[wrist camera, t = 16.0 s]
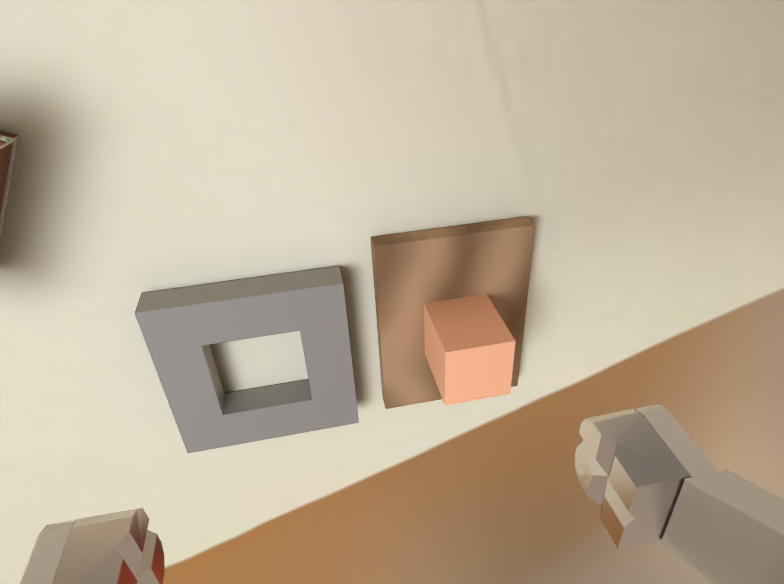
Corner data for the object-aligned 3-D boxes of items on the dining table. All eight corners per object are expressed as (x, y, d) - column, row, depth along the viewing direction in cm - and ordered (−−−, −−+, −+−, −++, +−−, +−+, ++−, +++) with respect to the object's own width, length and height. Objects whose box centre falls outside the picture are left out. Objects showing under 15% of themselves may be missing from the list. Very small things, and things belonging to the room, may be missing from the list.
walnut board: (527, 216, 41) (535, 224, 40) (510, 374, 50) (517, 385, 49) (370, 237, 40) (374, 246, 38) (382, 396, 48) (385, 408, 47)
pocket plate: (339, 265, 40) (343, 283, 38) (354, 401, 48) (358, 422, 46) (141, 292, 38) (134, 313, 36) (191, 430, 46) (187, 453, 44)
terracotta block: (486, 293, 43) (515, 341, 38) (483, 343, 45) (510, 393, 40) (424, 303, 42) (445, 352, 37) (424, 353, 45) (444, 405, 40)
